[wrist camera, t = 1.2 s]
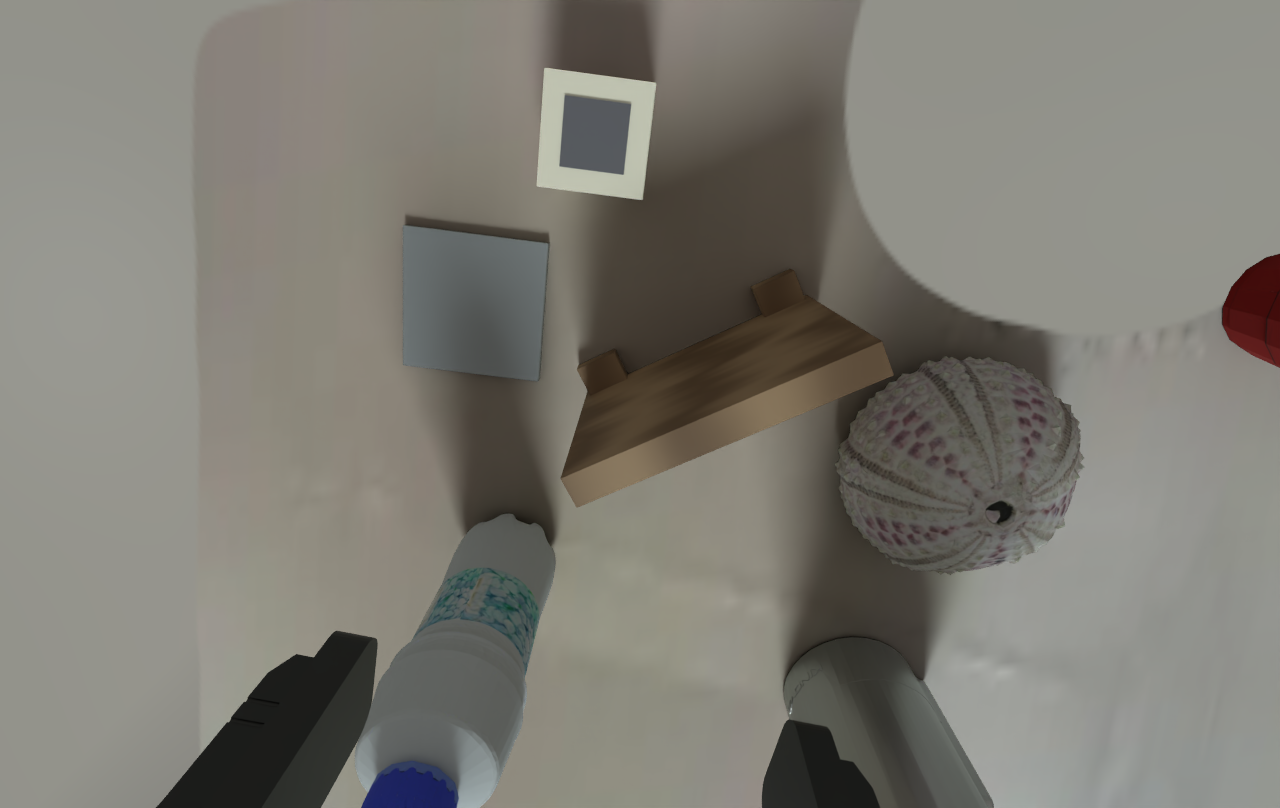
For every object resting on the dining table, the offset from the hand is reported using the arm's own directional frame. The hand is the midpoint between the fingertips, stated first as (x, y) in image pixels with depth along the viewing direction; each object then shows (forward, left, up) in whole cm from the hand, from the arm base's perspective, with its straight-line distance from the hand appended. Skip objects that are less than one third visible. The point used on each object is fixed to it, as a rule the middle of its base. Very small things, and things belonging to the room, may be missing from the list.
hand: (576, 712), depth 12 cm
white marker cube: (+6, -10, -26) cm, 29 cm away
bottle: (+1, +15, -26) cm, 30 cm away
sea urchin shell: (-20, -3, -26) cm, 33 cm away
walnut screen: (-4, -2, -26) cm, 26 cm away
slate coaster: (+9, +1, -26) cm, 28 cm away
